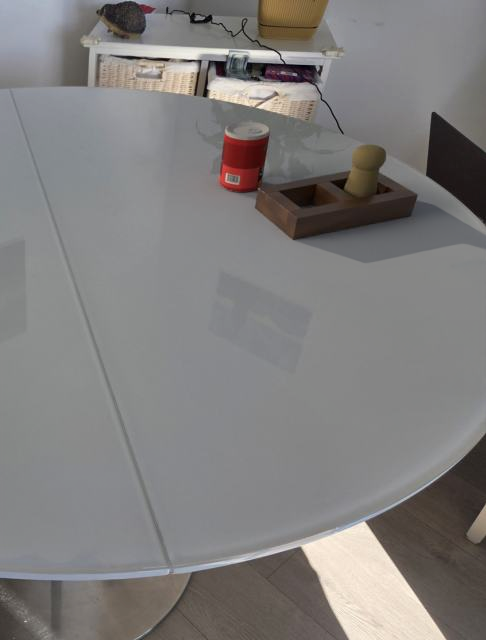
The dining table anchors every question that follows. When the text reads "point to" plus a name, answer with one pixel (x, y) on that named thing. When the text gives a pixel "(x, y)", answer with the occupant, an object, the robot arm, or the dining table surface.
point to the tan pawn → (365, 171)
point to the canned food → (244, 156)
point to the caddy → (331, 204)
